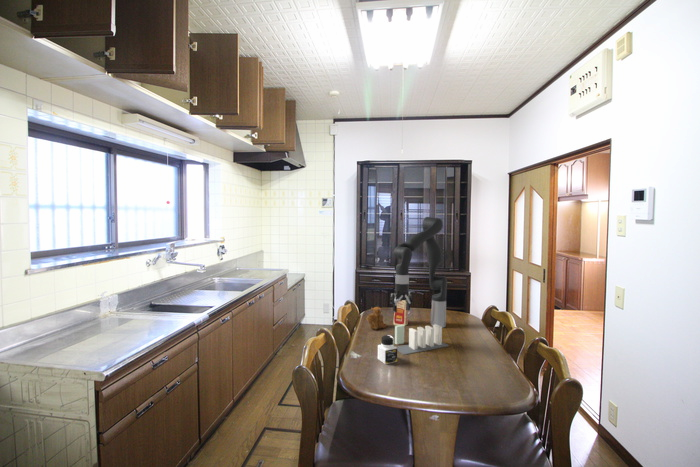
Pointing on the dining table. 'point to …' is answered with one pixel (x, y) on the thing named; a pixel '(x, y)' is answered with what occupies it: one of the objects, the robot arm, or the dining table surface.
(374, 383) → the dining table surface
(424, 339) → the domino
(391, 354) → the medicine bottle
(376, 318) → the stuffed squirrel
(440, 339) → the domino
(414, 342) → the domino
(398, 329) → the domino
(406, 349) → the runner mat
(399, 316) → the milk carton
